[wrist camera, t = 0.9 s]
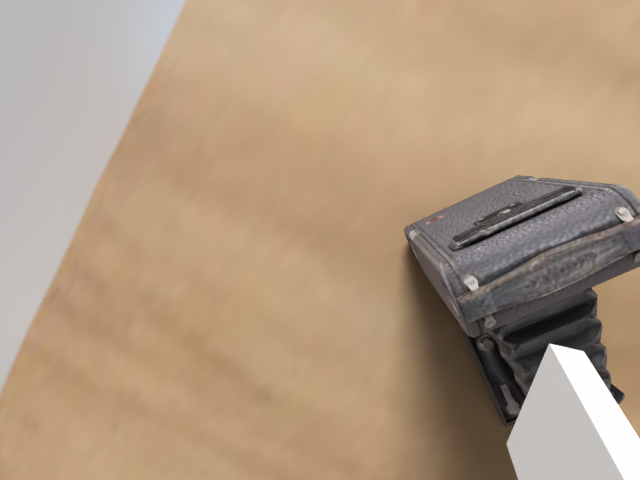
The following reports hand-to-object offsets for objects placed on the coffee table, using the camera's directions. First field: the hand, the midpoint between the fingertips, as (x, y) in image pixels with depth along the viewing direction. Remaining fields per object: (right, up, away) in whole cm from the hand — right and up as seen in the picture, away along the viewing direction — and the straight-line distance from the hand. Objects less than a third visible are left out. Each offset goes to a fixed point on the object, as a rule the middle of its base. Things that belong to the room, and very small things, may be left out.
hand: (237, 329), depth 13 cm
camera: (+16, -3, +31) cm, 35 cm away
